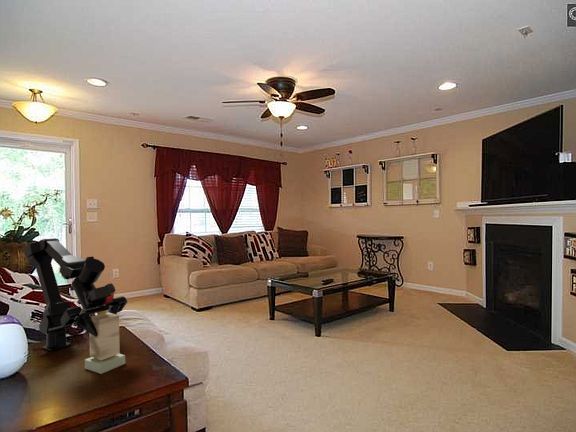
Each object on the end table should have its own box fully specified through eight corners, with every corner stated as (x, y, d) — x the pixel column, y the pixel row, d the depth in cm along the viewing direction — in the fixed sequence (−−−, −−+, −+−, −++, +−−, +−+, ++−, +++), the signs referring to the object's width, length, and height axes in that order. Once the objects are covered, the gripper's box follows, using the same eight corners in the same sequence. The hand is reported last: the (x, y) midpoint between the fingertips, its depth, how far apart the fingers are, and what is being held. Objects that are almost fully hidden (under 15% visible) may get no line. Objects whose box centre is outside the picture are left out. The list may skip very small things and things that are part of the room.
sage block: (84, 369, 108) (84, 359, 108) (109, 359, 115) (108, 350, 115) (101, 375, 104) (100, 365, 104) (125, 364, 111) (125, 355, 111)
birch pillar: (89, 356, 109) (89, 317, 109) (108, 349, 114) (108, 312, 114) (100, 360, 106) (100, 320, 105) (119, 353, 111) (119, 315, 110)
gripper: (64, 281, 104) (85, 326, 98) (123, 272, 119) (145, 309, 114) (51, 304, 108) (71, 348, 102) (110, 292, 124) (130, 329, 118)
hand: (106, 332), depth 109 cm, fingers closed on birch pillar, 6 cm apart
